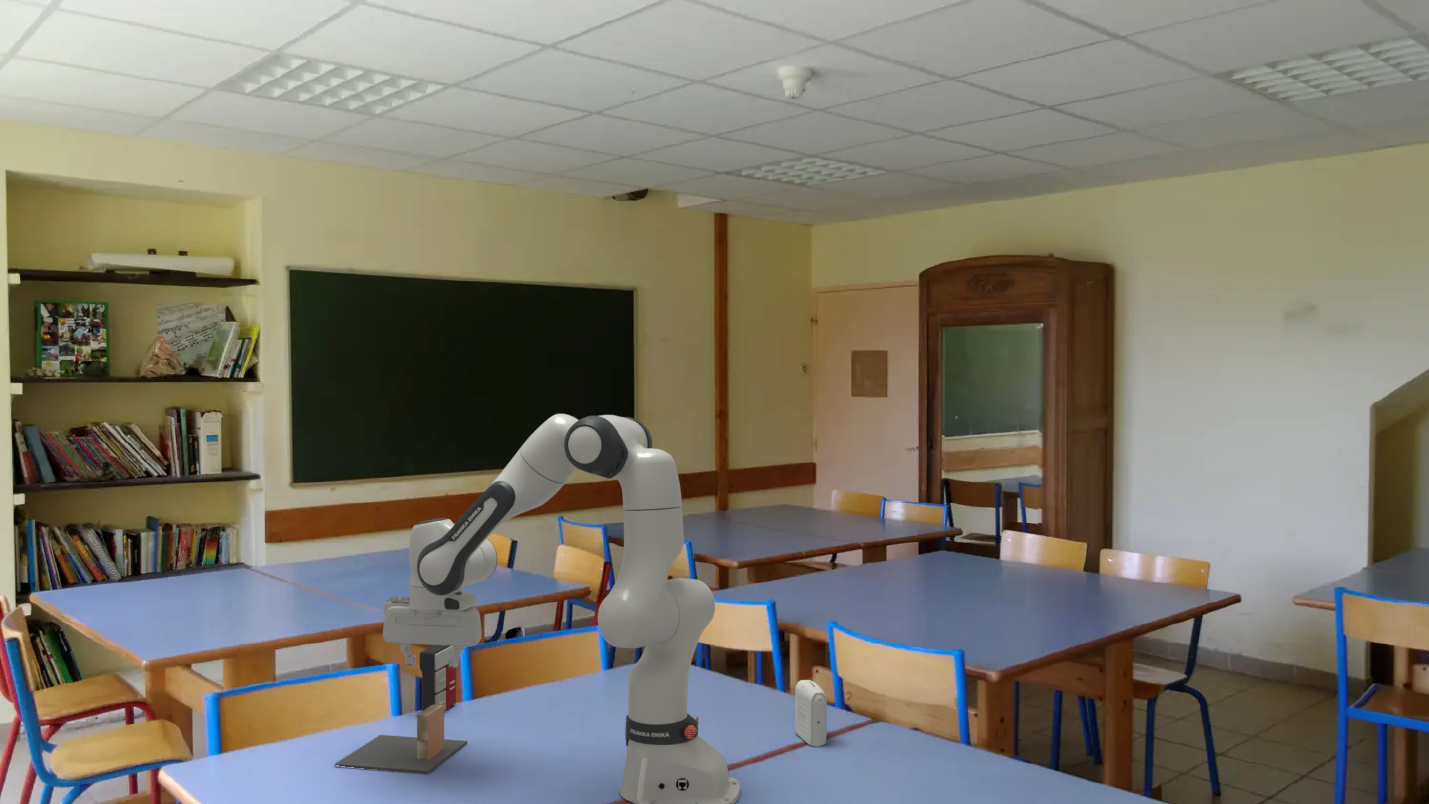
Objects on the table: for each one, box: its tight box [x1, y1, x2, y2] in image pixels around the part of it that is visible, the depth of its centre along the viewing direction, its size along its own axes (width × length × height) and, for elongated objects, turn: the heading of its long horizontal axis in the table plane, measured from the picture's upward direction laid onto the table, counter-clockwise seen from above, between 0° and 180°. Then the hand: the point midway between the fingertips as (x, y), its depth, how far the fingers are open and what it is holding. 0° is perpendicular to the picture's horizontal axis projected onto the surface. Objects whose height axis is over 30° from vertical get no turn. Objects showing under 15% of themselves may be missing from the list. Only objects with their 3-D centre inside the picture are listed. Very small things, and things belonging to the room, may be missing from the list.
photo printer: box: [794, 679, 828, 747], centre depth 225 cm, size 10×4×12 cm, turn 17°
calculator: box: [419, 645, 457, 712], centre depth 245 cm, size 11×4×15 cm, turn 168°
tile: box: [416, 705, 445, 760], centre depth 214 cm, size 2×7×9 cm, turn 169°
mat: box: [334, 734, 468, 775], centre depth 215 cm, size 20×18×1 cm
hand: (432, 665), depth 214 cm, fingers open, 8 cm apart
